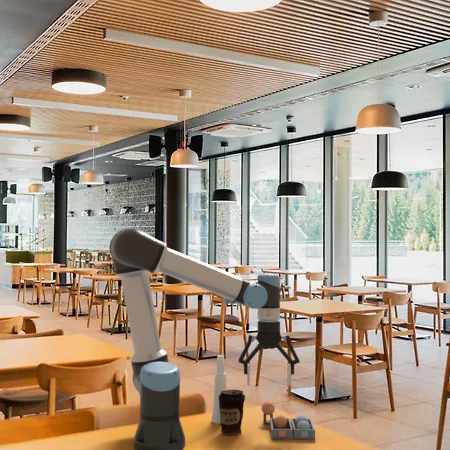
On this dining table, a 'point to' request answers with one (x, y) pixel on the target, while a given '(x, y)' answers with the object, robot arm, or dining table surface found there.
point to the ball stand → (266, 422)
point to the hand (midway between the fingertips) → (269, 384)
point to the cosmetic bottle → (218, 387)
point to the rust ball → (280, 422)
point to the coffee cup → (231, 411)
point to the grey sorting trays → (292, 431)
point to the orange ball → (268, 408)
